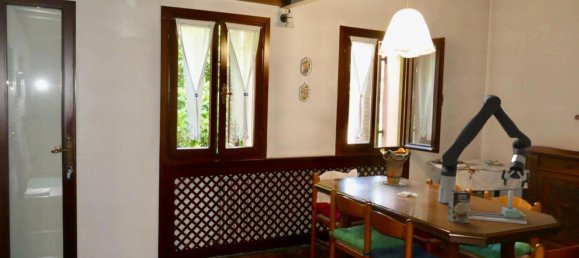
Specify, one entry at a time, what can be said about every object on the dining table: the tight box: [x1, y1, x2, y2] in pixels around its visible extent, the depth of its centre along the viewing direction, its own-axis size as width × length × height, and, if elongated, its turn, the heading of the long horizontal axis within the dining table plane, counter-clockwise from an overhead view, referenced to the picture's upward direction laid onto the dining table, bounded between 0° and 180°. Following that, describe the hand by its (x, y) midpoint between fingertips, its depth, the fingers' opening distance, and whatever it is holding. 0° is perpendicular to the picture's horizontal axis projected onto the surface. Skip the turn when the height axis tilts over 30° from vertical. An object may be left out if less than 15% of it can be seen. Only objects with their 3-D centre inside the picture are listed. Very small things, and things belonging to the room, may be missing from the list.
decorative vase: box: [379, 147, 411, 187], centre depth 339 cm, size 21×23×28 cm
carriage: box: [500, 190, 519, 218], centre depth 246 cm, size 7×7×14 cm
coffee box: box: [446, 189, 472, 224], centre depth 239 cm, size 9×6×16 cm
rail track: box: [468, 208, 528, 225], centre depth 248 cm, size 30×12×4 cm, turn 80°
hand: (513, 186), depth 254 cm, fingers open, 8 cm apart
